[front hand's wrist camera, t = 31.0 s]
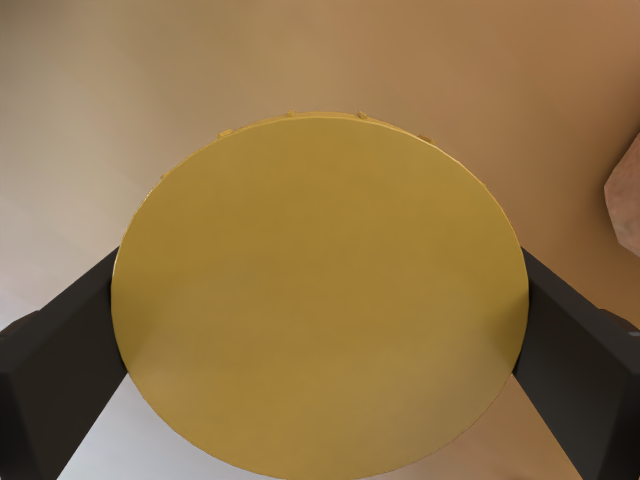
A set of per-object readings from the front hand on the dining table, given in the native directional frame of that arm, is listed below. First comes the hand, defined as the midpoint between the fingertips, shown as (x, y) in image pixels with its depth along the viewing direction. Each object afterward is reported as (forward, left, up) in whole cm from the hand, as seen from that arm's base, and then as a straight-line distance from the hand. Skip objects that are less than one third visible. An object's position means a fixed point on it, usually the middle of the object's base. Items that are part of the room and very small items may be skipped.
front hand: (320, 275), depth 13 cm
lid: (0, 0, +3) cm, 3 cm away
